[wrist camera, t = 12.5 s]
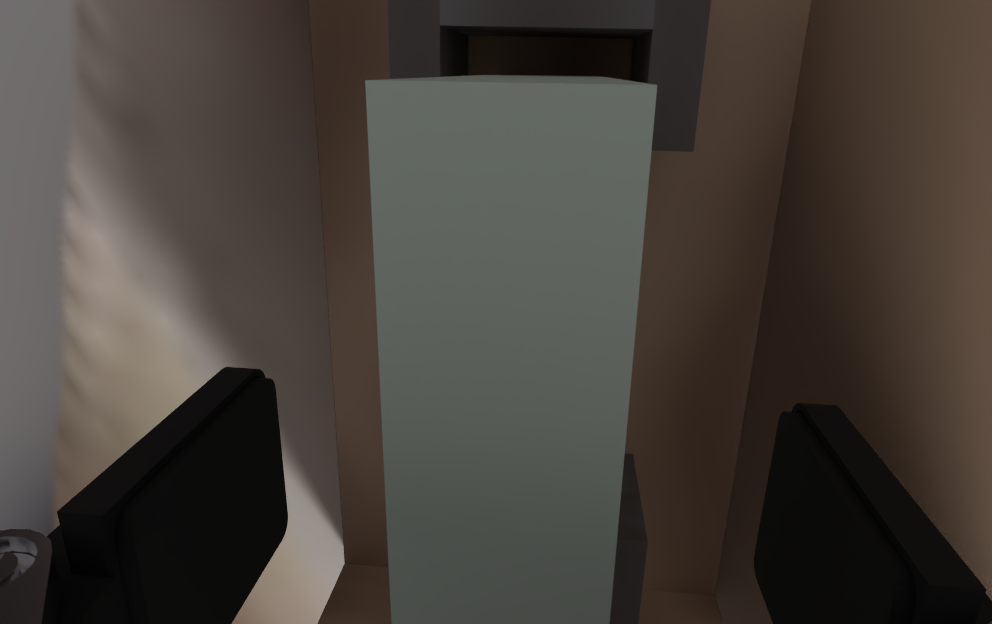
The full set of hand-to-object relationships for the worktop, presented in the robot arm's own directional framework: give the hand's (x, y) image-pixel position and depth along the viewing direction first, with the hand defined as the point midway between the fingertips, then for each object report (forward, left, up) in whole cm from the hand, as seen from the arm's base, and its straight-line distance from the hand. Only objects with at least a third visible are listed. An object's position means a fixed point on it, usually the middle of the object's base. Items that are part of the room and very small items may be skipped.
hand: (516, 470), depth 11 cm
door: (0, 0, -8) cm, 8 cm away
